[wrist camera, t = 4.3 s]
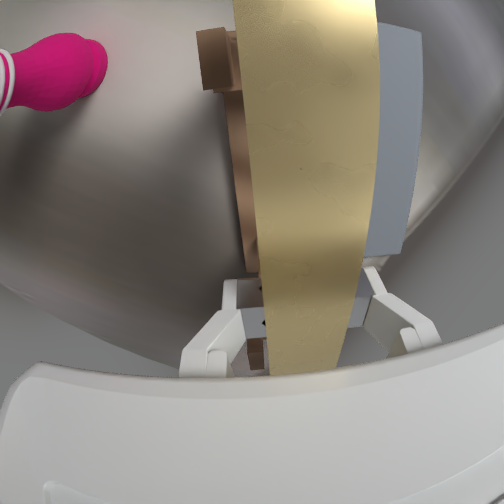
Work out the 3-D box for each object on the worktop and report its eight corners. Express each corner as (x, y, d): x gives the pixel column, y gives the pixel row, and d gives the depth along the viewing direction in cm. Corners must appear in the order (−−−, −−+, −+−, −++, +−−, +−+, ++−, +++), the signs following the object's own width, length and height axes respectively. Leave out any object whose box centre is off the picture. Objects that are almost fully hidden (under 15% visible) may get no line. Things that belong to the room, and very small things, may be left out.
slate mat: (331, 17, 17) (334, 15, 16) (416, 32, 16) (420, 32, 16) (331, 255, 32) (332, 260, 31) (397, 249, 32) (400, 253, 31)
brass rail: (232, -16, 5) (226, -47, 3) (336, -15, 5) (367, -39, 3) (272, 391, 18) (274, 422, 16) (313, 386, 18) (318, 417, 16)
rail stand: (217, 35, 18) (177, -16, 6) (299, 30, 18) (367, -19, 6) (246, 266, 33) (247, 383, 21) (306, 261, 32) (333, 375, 20)
